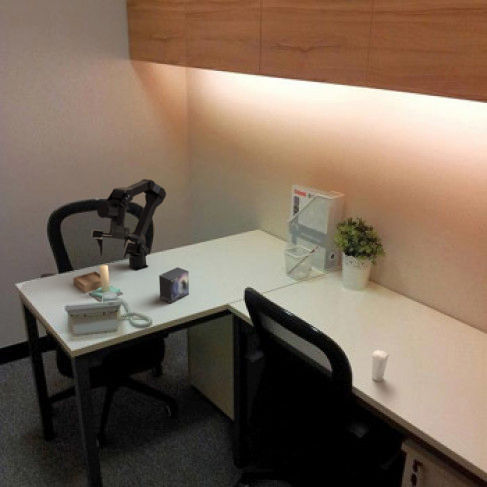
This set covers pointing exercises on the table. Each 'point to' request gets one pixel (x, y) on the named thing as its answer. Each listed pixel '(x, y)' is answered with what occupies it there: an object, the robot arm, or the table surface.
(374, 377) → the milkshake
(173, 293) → the small box
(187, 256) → the table surface
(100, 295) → the lid
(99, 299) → the mat
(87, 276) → the walnut box
